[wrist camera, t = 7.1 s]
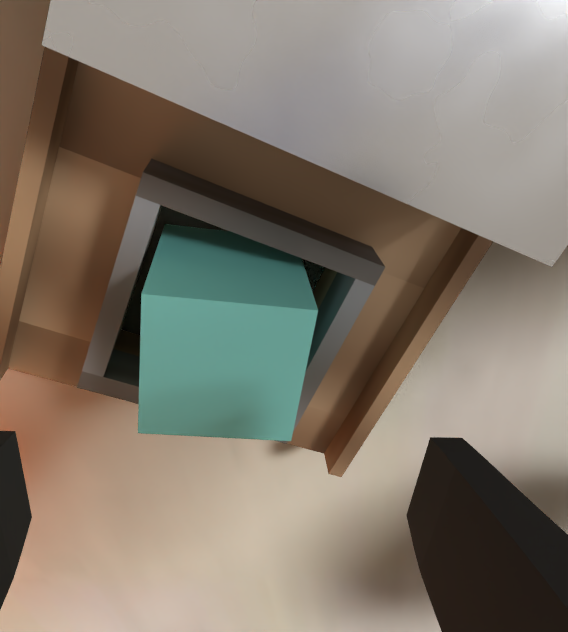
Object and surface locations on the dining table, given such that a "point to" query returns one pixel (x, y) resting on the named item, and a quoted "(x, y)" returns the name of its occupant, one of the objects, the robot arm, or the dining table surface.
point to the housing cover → (368, 93)
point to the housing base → (222, 211)
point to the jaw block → (223, 337)
